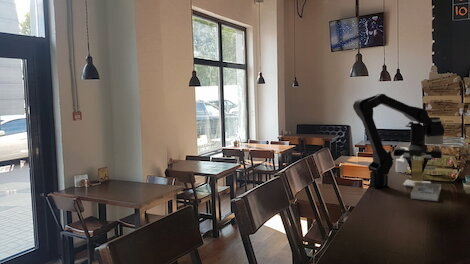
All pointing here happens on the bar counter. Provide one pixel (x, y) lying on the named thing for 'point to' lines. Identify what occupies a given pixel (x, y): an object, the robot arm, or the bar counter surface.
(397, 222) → the bar counter surface
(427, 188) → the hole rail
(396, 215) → the bar counter surface
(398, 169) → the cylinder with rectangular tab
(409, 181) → the pad
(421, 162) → the square peg
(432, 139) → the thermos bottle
